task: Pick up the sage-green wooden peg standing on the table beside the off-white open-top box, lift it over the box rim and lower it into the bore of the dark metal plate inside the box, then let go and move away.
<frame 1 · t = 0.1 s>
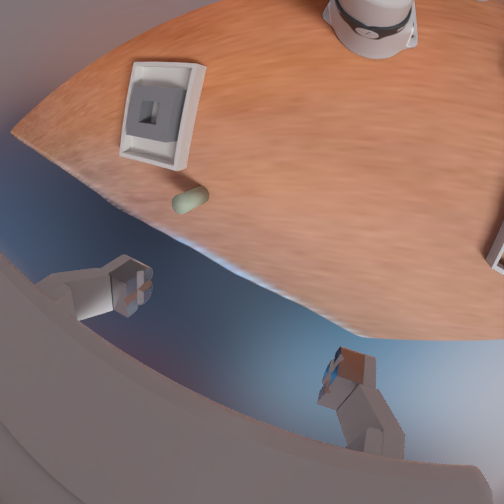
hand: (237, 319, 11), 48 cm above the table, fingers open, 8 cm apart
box: (163, 112, 59), on the table
peg: (201, 194, 64), on the table
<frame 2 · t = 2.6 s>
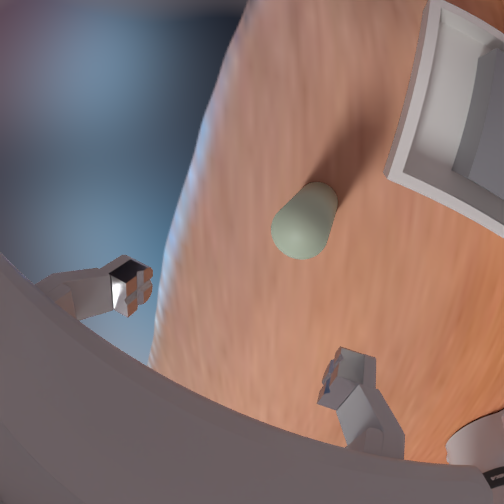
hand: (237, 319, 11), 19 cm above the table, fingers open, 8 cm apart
peg: (317, 202, 27), on the table
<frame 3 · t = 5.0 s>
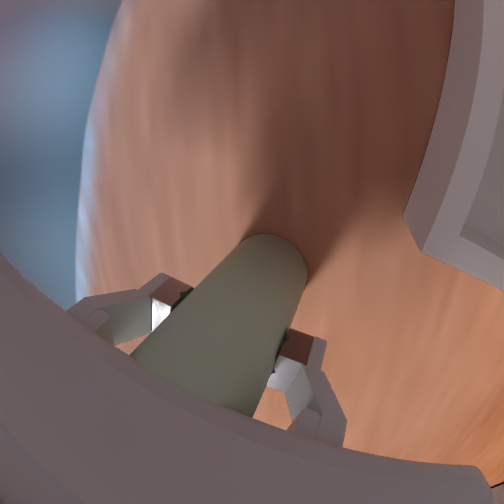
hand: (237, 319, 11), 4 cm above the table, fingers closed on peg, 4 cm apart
peg: (268, 271, 15), on the table, touching gripper
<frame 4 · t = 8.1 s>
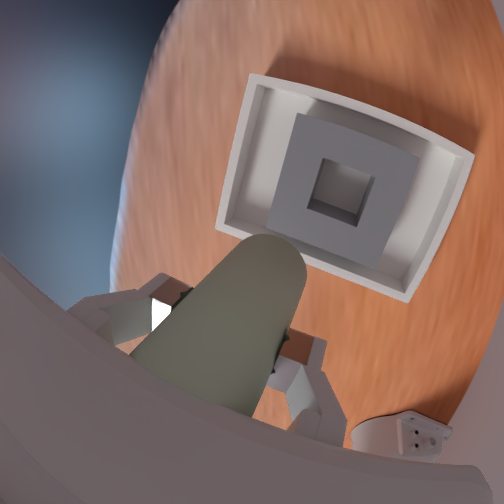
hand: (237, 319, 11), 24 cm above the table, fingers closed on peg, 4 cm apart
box: (342, 183, 30), on the table
peg: (267, 271, 14), point 20 cm above the table, touching gripper
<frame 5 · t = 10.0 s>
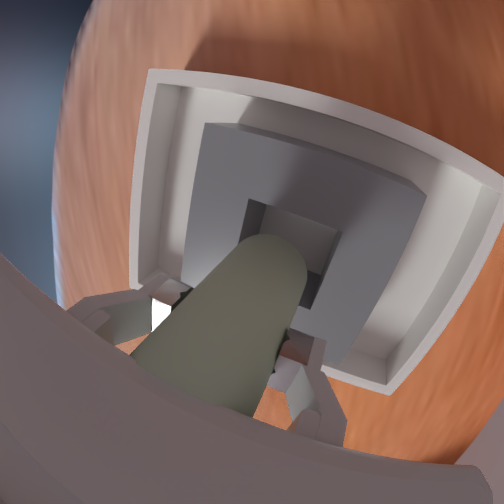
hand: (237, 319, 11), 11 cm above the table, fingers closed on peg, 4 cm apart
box: (300, 226, 21), on the table
peg: (267, 271, 14), point 7 cm above the table, touching gripper
when the fingers open (7 cm above the table, at t = 11.7 s): peg drops 2 cm, resting on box.
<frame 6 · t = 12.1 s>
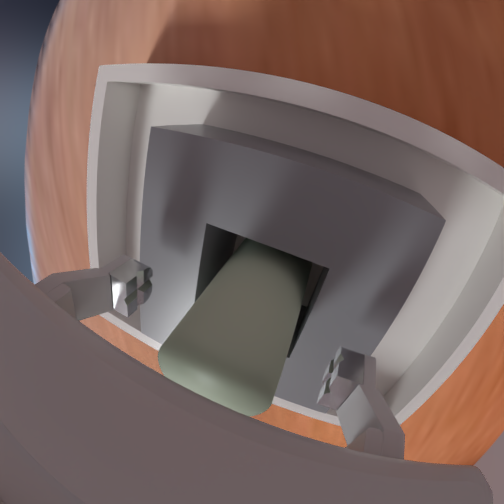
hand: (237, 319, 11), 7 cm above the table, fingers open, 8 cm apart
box: (282, 248, 17), on the table
peg: (277, 256, 16), point 1 cm above the table, touching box
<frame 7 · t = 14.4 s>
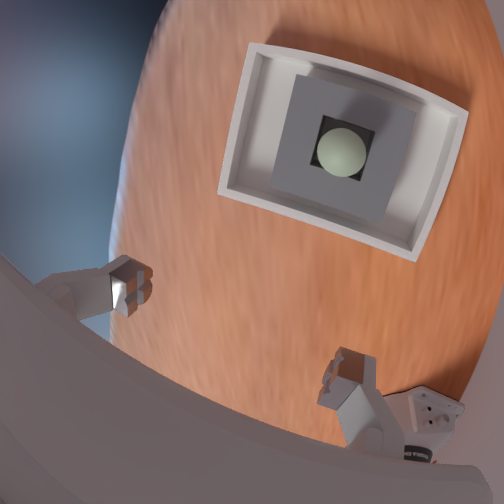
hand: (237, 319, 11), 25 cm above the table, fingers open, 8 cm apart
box: (342, 145, 30), on the table
peg: (342, 145, 29), point 1 cm above the table, touching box
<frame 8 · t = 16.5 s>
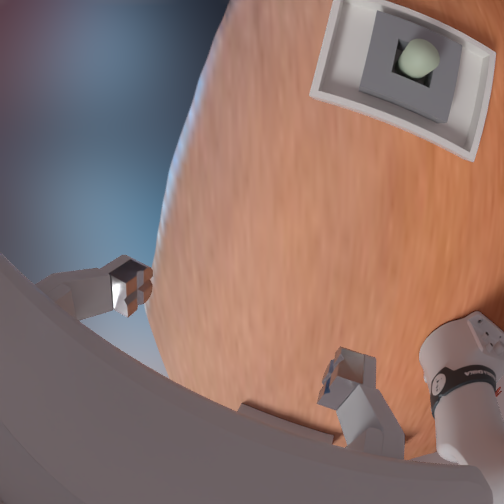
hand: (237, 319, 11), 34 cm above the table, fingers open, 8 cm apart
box: (407, 71, 29), on the table
peg: (408, 69, 29), point 1 cm above the table, touching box
shell tray: (277, 436, 71), on the table
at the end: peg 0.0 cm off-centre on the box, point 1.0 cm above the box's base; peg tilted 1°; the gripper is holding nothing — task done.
